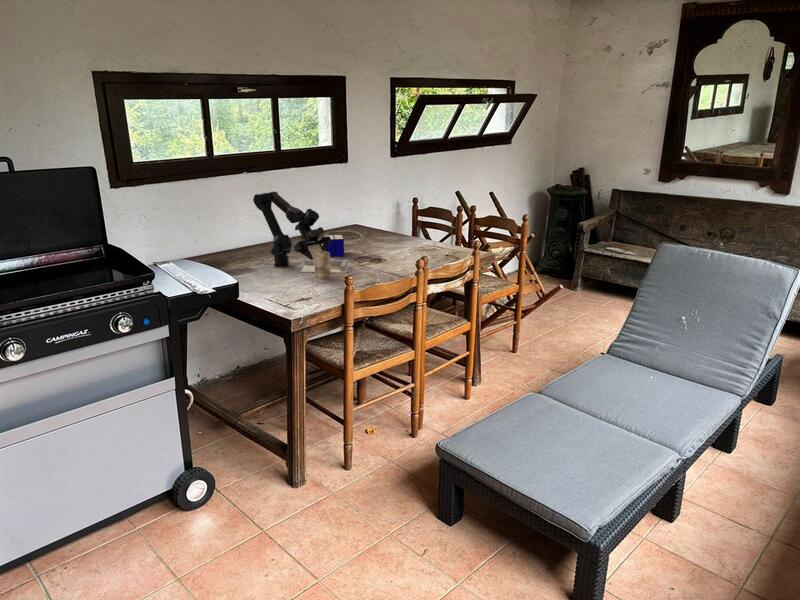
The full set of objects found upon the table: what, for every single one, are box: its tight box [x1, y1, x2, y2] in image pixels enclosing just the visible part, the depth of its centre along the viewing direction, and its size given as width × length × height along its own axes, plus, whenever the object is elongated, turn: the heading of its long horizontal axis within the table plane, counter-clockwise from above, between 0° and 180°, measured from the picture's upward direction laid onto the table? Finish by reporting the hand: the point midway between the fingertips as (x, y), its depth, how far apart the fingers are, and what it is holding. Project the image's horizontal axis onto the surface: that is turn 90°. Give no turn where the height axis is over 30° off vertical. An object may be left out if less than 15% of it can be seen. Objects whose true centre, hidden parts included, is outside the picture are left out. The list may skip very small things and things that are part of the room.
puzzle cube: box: [323, 234, 345, 258], centre depth 333 cm, size 10×10×10 cm
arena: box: [299, 258, 351, 274], centre depth 306 cm, size 23×14×3 cm, turn 87°
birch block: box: [313, 250, 332, 280], centre depth 291 cm, size 6×4×12 cm
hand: (320, 258), depth 291 cm, fingers open, 9 cm apart
